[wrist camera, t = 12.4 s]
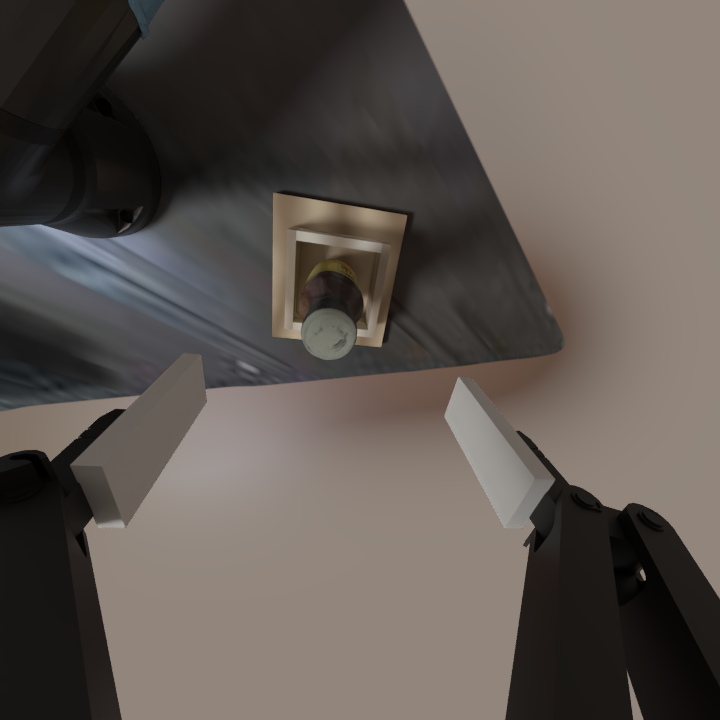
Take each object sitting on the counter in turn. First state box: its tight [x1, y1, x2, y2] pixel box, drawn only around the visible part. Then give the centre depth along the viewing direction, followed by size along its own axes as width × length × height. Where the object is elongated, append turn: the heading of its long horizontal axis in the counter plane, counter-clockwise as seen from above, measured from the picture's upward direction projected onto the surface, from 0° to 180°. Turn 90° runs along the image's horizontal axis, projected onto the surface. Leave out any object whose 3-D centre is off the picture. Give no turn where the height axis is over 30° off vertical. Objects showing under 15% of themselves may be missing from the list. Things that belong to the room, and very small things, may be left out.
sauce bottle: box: [299, 259, 364, 360], centre depth 29 cm, size 6×6×20 cm
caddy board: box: [272, 193, 407, 347], centre depth 36 cm, size 16×18×6 cm
